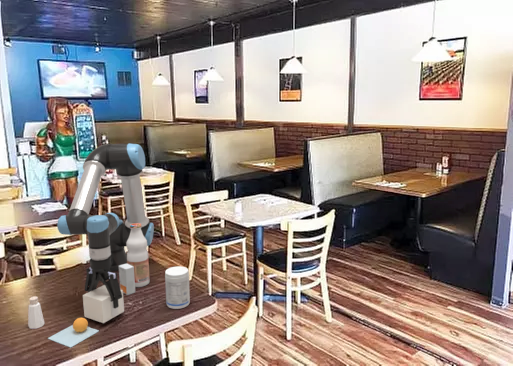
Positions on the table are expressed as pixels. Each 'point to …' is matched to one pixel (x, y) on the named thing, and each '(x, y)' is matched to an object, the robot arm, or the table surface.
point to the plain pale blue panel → (72, 336)
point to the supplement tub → (177, 287)
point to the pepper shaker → (35, 314)
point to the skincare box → (127, 278)
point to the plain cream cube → (100, 304)
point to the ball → (80, 324)
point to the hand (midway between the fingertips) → (104, 312)
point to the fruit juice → (138, 255)
